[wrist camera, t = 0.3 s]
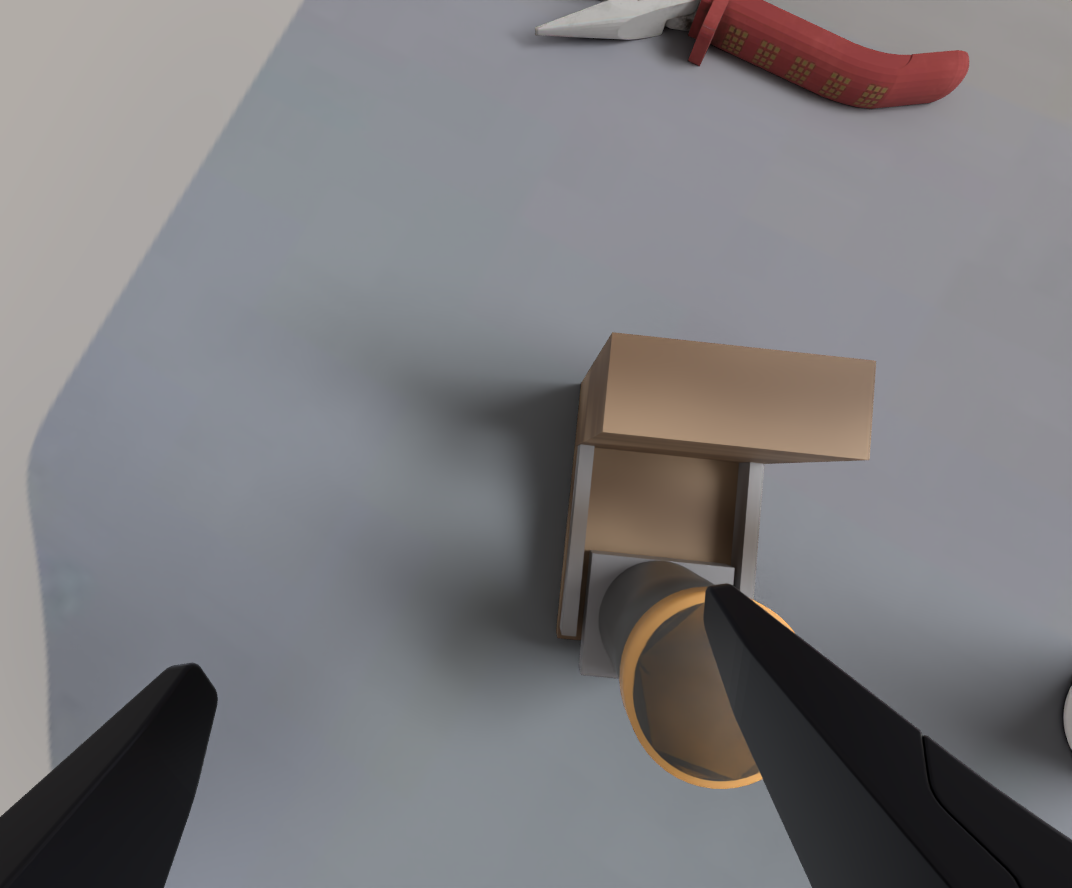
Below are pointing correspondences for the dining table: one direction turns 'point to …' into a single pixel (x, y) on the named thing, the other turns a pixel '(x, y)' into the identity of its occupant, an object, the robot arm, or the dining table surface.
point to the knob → (665, 663)
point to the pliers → (777, 48)
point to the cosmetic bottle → (1068, 717)
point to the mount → (697, 449)
